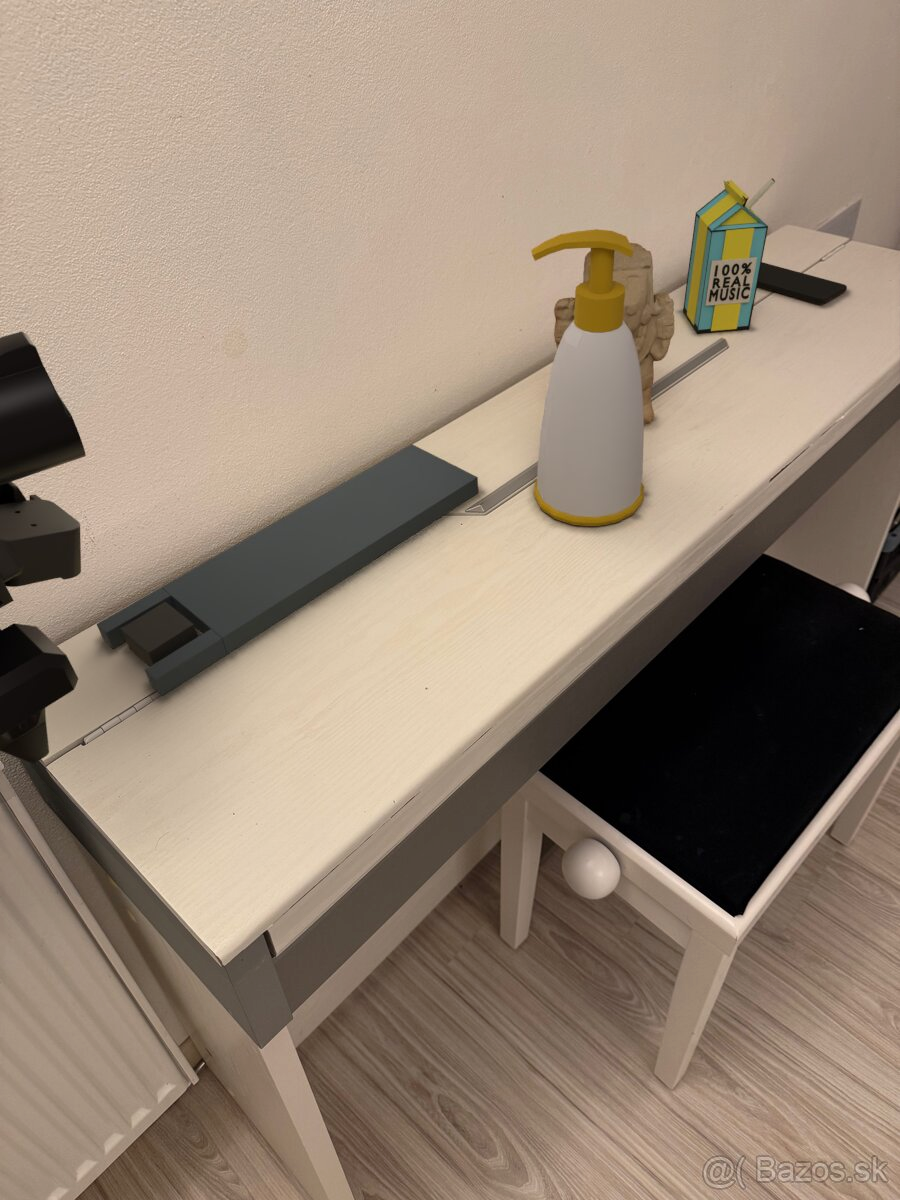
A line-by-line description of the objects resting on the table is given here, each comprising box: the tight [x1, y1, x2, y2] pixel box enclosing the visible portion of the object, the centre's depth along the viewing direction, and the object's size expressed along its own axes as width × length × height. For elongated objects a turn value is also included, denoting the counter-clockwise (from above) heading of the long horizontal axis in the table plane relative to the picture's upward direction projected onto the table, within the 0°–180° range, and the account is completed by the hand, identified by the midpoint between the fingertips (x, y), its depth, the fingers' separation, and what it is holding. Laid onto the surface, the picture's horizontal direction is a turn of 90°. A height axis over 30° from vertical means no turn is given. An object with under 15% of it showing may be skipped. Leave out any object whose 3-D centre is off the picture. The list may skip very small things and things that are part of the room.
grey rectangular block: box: [96, 443, 479, 697], centre depth 83 cm, size 38×10×2 cm, turn 135°
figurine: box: [553, 242, 675, 424], centre depth 92 cm, size 13×7×20 cm, turn 91°
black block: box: [121, 602, 199, 667], centre depth 75 cm, size 4×4×2 cm
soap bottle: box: [530, 228, 645, 527], centre depth 80 cm, size 11×12×26 cm
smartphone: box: [757, 261, 848, 305], centre depth 123 cm, size 7×1×15 cm
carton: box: [682, 177, 776, 335], centre depth 111 cm, size 7×8×18 cm
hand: (5, 718), depth 54 cm, fingers open, 9 cm apart
